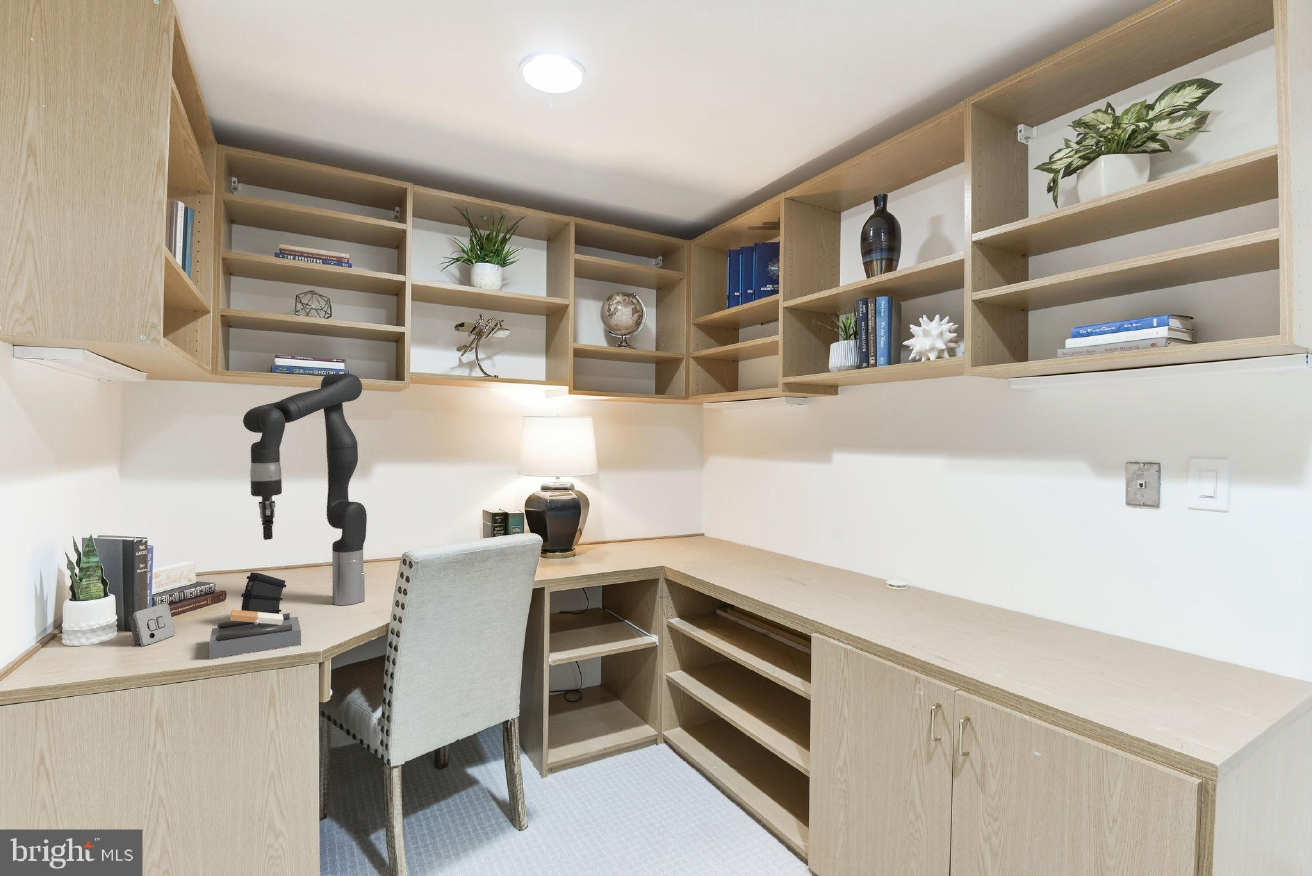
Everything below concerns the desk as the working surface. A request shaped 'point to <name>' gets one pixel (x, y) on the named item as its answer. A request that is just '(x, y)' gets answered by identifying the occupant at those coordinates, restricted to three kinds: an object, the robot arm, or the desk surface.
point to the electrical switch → (152, 624)
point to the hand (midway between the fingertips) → (267, 539)
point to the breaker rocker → (256, 617)
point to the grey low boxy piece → (253, 637)
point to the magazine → (262, 593)
